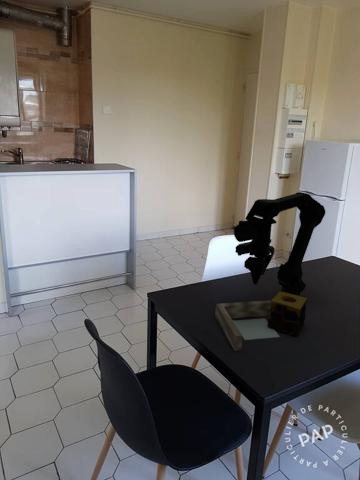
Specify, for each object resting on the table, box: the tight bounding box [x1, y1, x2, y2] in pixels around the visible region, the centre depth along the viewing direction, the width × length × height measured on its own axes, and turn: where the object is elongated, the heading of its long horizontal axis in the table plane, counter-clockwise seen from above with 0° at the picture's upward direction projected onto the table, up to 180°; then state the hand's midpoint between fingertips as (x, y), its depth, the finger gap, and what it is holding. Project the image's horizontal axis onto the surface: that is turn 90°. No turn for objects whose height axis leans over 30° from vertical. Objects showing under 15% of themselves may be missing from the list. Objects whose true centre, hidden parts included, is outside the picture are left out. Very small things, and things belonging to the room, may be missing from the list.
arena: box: [214, 299, 271, 351], centre depth 123 cm, size 20×21×5 cm
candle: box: [267, 290, 308, 337], centre depth 125 cm, size 10×10×10 cm
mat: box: [233, 318, 281, 341], centre depth 124 cm, size 12×12×1 cm
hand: (258, 279), depth 131 cm, fingers open, 9 cm apart
